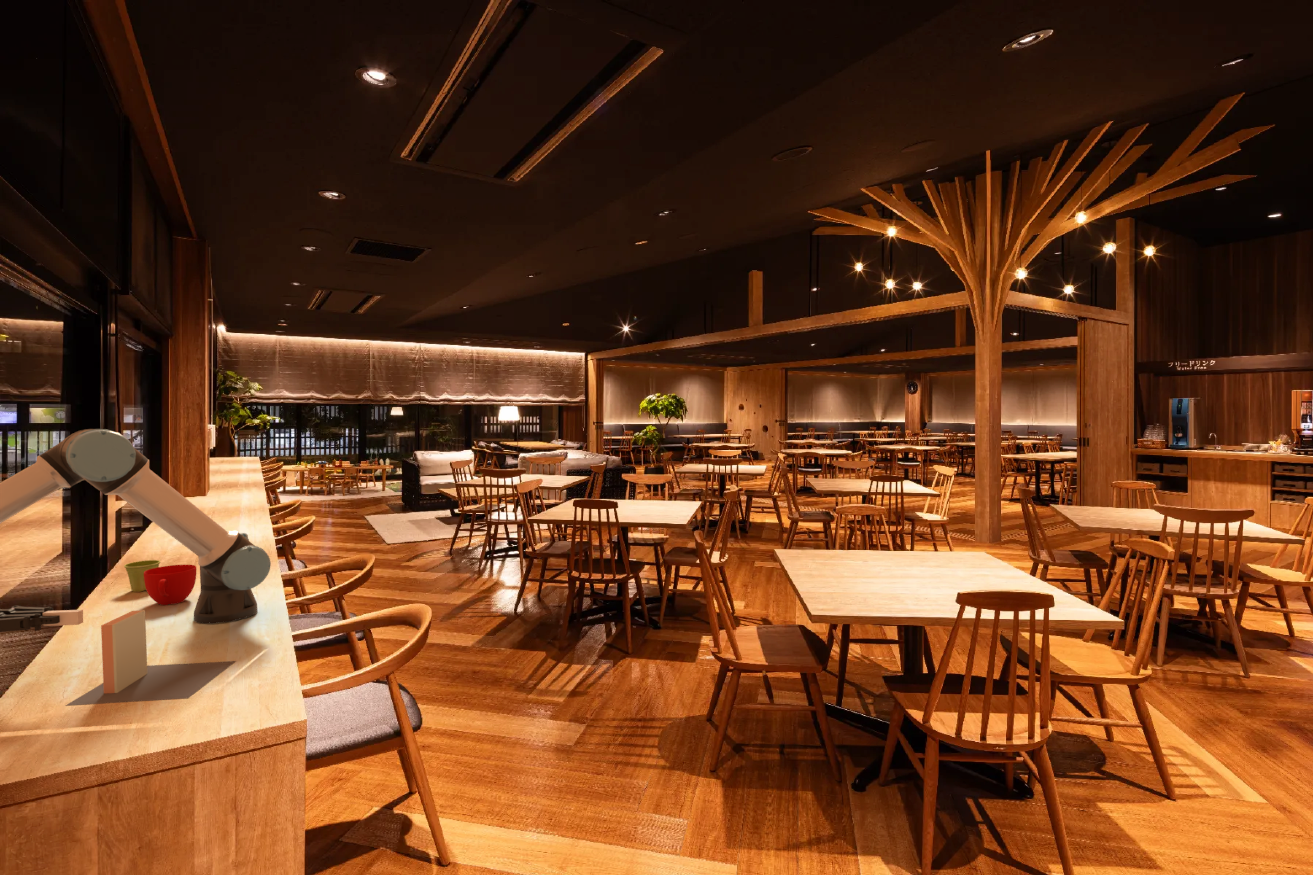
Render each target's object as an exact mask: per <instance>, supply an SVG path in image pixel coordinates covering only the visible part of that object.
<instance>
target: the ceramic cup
mask: <svg viewBox="0 0 1313 875" xmlns="http://www.w3.org/2000/svg"><path fill="white" fill-rule="evenodd" d="M196 579H197V566H196V565H194V564H171V565H164V566H163V565H162V566H159V567H157V568H153V569H149V570H147V571H145V572H144V582H145V587H146V590H145V591H146V592H147V594H148V596H149V598H151V600H153V601H154V602H155V603H156V604H157V605H159V604H161V606H168V604H170V605H176V604H180V603H183V602H185V601H186V599H187V598H188V597H189V596H190V595H191V593H192V592H193V590H194V587H195V585H196Z"/></svg>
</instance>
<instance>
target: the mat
mask: <svg viewBox="0 0 1313 875" xmlns="http://www.w3.org/2000/svg"><path fill="white" fill-rule="evenodd" d="M236 662H237V660H231V661H228V660H227V661H212V662H211V661H208V662H193V663H192V662H191V663H174V664H156V665H155V664H154V665H153V664H151V665H147V674H146V675H144V676H143V677H141V678H140V679H138V680H137V681H135V682H134V683H132V684H130V685H129V686H127V687H126V688H124V689H123V690H121V691H119V692H118V693H105V694H104V686H103V682H102V683H101V684H99V685H97V686H95V687H94V688H92V689H91V690H89V691H87V692H85V693H84V694H82V695H81V696H79V697H76V698H75V699H74V700H72V701H70V702H69V703H68V704H67V703H66V704H65V706H66V707H69V706H71V707H72V706H83V705H84V706H86V705H87V706H88V705H98V704H99V705H100V704H101V705H102V704H117V703H132V702H134V703H135V702H153V701H167V700H182V699H183V700H187V699H190V697H192V696H193V695H194V694H196V693H197V692H199V691H200V690H201V689H202V688H204V687H205V686H207V684H209V683H210V682H211V681H213V680H214V679H215V678H217V677H218V676H219V675H221V674H222V673H223V672H224V671H225V670H227V669H228V668H229V667H232V665H233V664H235V663H236Z"/></svg>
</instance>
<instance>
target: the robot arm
mask: <svg viewBox="0 0 1313 875" xmlns="http://www.w3.org/2000/svg"><path fill="white" fill-rule="evenodd" d="M82 481H86V482H87V483H89V484H90V486H93V487H94V488H95V489H96V490H98V491H100V492H101V493H102V494H103V495H105V496H107V495H108V496H109V495H110V496H111V495H112V496H113V495H115V496H118V497H119V498H121V499H122V500H123V501H124V502H126V503H127V504H129V505H130V506H132V507H133V508H134V509H135V510H136V511H138V512H139V513H140V514H142V515H143V516H145V517H146V518H147V519H149V520H150V521H151V522H152V523H154V524H155V525H156V526H158V527H159V528H160V529H162V530H163V531H164V532H166V533H167V534H168V535H170V536H171V537H172V538H174V539H175V540H176V541H177V542H179V543H180V544H182V545H183V546H184V547H186V548H187V549H188V550H189V551H191V552H192V553H193V554H195V555H196V556H197V557H198V561H197V562H198V564H197V565H198V566H199V579H200V580H199V582H200V593H199V596H198V598H197V602H196V605H195V607H194V610H193V621H194V622H195V623H198V624H222V623H223V624H224V623H229V622H236V621H240V620H243V619H246V618H249V617H251V616H254V615H255V614H257V613H258V602H257V600H256V597H255V595H254V593H253V590H252V589H254V588H255V587H257V586H259V585H260V584H262V583H263V582H264V581H265V579H266V578H267V577H268V576H269V573H270V571H271V564H272V563H271V558H270V556H269V555H268V553H267V552H266V551H265V549H264V548H262V547H260V546H258V545H255V544H254V543H252V542H251V541H250V539H249V535H248V534H247V533H245V532H238V531H237V530H226V529H225V528H224V527H223V526H221V525H220V524H219V523H217V522H216V521H215V520H213V519H212V518H211V517H210V516H209V515H207V514H206V513H205V512H203V511H202V510H201V509H200V508H199V507H197V506H196V505H195V504H193V503H192V502H191V501H190V500H189V499H187V498H186V497H185V496H183V495H182V494H181V493H180V492H179V491H178V490H176V489H175V488H174V487H172V486H171V485H170V484H169V483H168V482H166V481H165V480H164V479H162V478H161V477H160V476H159V475H158V474H156V473H155V472H154V471H153V470H151V469H150V459H148V458H147V457H146V456H145V455H144V454H143V453H141V452H140V451H139V450H138V449H136V448H135V447H134V445H133V443H131V440H130V439H129V438H127V437H126V436H125V435H123V434H121V433H120V432H117V431H114V430H110V429H106V428H104V429H103V428H87V429H86V428H85V429H81V430H78V431H75V432H74V433H71V434H70V435H68V436H67V437H65V438H64V439H63V440H61V441H60V442H59V443H56V445H55V446H52V447H51V448H50V449H48V450H46V451H44V452H43V453H41V454H39V455H38V456H36V462H35V463H33V464H31V465H30V466H28V467H26V468H24V469H22V470H21V471H19V472H17V473H15V474H14V475H13V474H12V475H11V476H9V477H8V478H7V479H5V480H3V481H1V482H0V524H2V523H4V522H6V521H7V520H9V519H10V518H12V517H14V516H15V515H17V514H19V513H20V512H23V511H24V510H25V509H28V508H29V507H31V506H33V505H35V504H36V503H37V502H40V501H41V500H43V499H45V498H46V497H48V496H49V495H51V494H53V493H55V492H57V490H59V489H61V488H68V489H69V488H72V487H73V486H75V485H77V484H78V483H81V482H82ZM10 607H11V608H5V609H3V608H2V609H1V608H0V633H5V632H16V631H17V632H18V631H28V630H31V628H34V632H35V631H37V632H38V631H41V630H42V626H43V627H53V626H54V627H55V626H79V625H80V624H83V623H84V609H69V610H67V609H66V610H65V609H64V610H60V609H59V610H54V607H51V606H46V607H37V606H21V605H13V606H10Z"/></svg>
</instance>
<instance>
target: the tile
mask: <svg viewBox="0 0 1313 875" xmlns="http://www.w3.org/2000/svg"><path fill="white" fill-rule="evenodd" d="M146 623H147V622H146V610H131V611H129V612H127V613H125V614H122V615H121V616H119V617H116V618H114V619H112V620H110V621H107V622H105V623H104V624H102V625H101V626H100V629H101V632H100V633H101V654H102V656H101V657H102V678H103V680H102V681H103V682H102V683H103V686H104V694H105V693H118V692H119V691H121V690H123V689H124V688H126V687H127V686H129V685H130V684H132V683H134V682H135V681H137V680H138V679H140V678H141V677H143V676H144V675H146V674H147V666H148V656H147V655H148V654H147V653H148V652H147V629H146V626H147V625H146Z"/></svg>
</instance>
